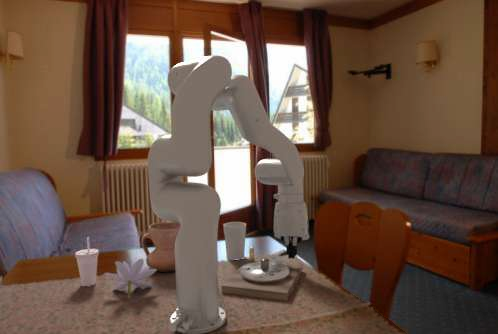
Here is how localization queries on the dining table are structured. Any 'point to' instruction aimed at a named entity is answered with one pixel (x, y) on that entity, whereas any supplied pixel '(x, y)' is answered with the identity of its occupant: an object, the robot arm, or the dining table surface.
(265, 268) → the post and dowel
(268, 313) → the dining table surface
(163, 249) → the ceramic jug
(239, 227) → the cup
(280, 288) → the base board
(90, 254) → the smoothie
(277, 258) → the flange plate
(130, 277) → the water lily
